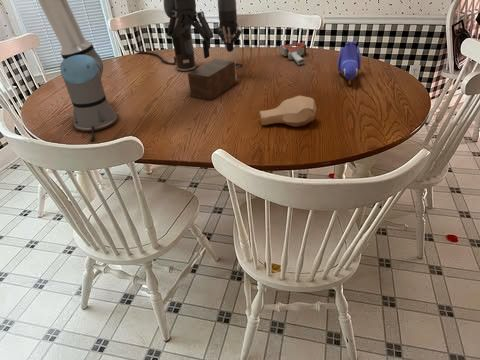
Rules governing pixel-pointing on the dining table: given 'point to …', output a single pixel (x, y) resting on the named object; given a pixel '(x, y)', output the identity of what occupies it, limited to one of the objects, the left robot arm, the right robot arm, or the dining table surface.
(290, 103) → the squash
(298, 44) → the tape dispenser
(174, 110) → the dining table surface
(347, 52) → the toy
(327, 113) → the dining table surface
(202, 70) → the dark brown box
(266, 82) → the dining table surface
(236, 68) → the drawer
